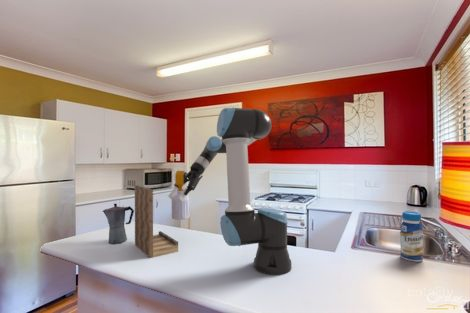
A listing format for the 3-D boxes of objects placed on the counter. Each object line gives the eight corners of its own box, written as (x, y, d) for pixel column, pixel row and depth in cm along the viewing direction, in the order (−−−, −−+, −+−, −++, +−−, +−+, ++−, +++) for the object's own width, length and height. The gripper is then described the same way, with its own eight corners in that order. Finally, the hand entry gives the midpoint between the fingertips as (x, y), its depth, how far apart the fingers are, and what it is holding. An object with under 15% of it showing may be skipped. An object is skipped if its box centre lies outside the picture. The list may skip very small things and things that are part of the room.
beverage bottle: (418, 255, 119) (418, 211, 119) (426, 263, 111) (426, 215, 111) (397, 254, 122) (397, 210, 121) (403, 261, 113) (403, 214, 113)
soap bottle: (190, 215, 144) (190, 170, 144) (188, 219, 135) (187, 171, 135) (173, 216, 144) (173, 170, 144) (170, 220, 135) (169, 171, 135)
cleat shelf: (178, 251, 126) (178, 187, 125) (149, 258, 118) (149, 190, 117) (160, 239, 143) (160, 183, 143) (134, 244, 135) (134, 185, 135)
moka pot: (104, 239, 143) (103, 202, 143) (134, 237, 148) (134, 201, 148) (100, 245, 134) (100, 205, 134) (133, 242, 139) (133, 204, 139)
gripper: (215, 171, 143) (191, 205, 132) (191, 170, 158) (168, 200, 146) (208, 161, 139) (182, 196, 128) (184, 161, 154) (159, 192, 142)
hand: (175, 198), depth 137 cm, fingers closed on soap bottle, 8 cm apart
